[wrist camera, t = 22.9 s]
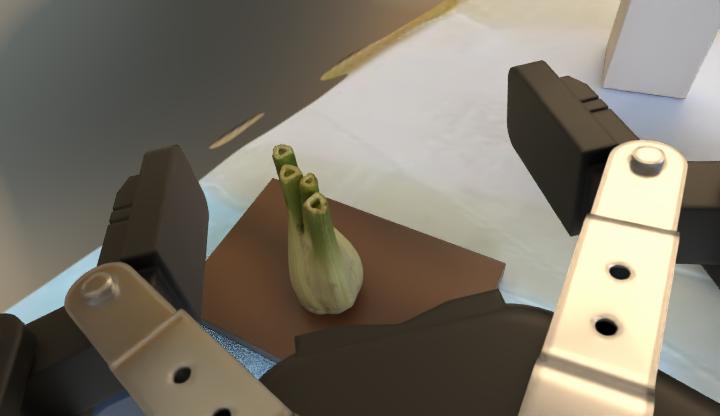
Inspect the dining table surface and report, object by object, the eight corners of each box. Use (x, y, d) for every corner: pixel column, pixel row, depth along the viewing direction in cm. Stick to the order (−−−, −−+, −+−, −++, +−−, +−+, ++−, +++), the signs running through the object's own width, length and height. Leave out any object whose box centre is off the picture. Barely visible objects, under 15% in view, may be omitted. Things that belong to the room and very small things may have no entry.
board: (276, 189, 46) (272, 177, 45) (503, 274, 39) (506, 263, 38) (178, 313, 40) (171, 303, 38) (431, 442, 32) (431, 435, 31)
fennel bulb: (297, 256, 40) (260, 138, 31) (364, 251, 40) (347, 131, 30) (294, 328, 36) (251, 220, 27) (367, 322, 36) (349, 212, 27)
